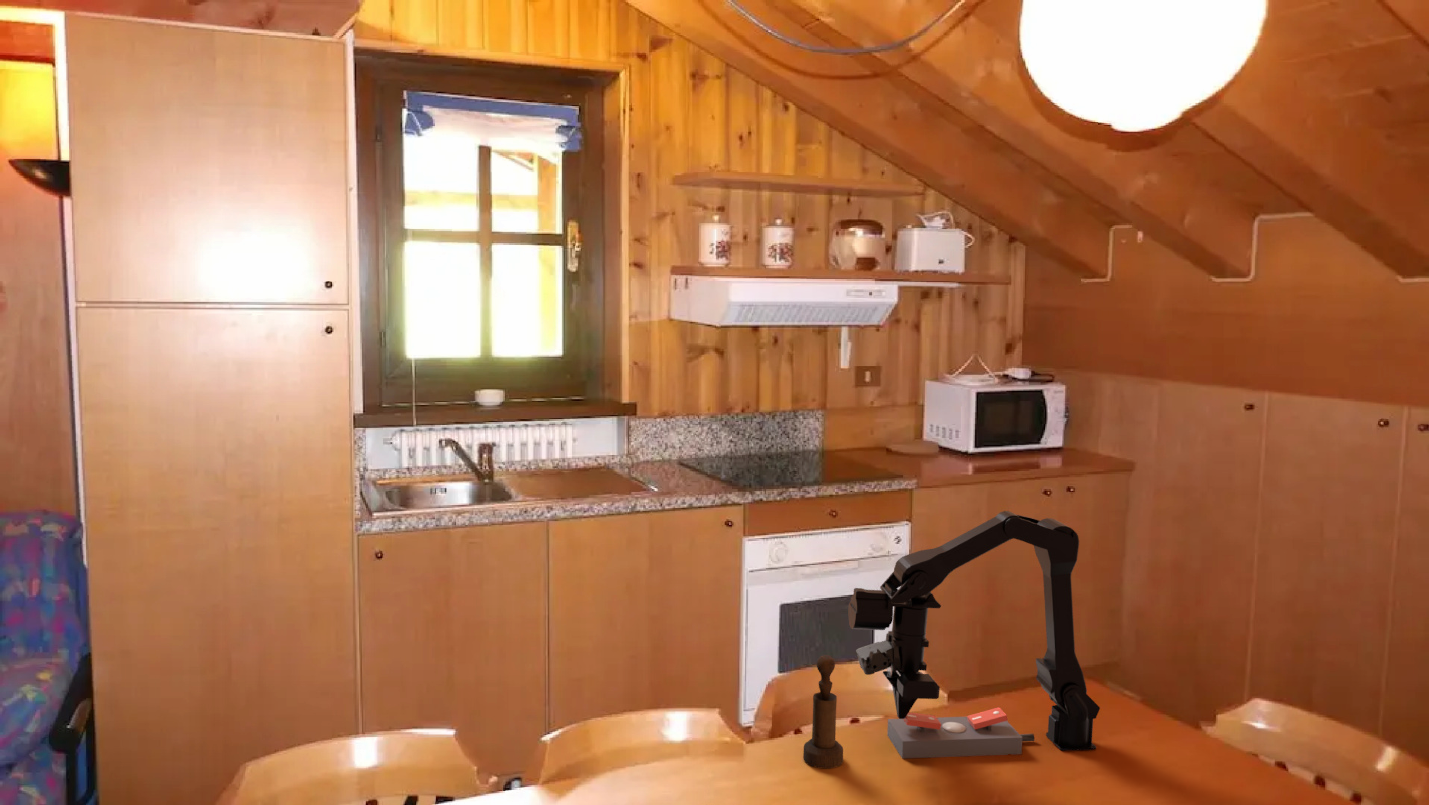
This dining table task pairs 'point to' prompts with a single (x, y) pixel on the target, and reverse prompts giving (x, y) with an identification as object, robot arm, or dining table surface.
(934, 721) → the switch
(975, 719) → the switch
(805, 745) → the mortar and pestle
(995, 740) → the switch panel
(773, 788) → the dining table surface
